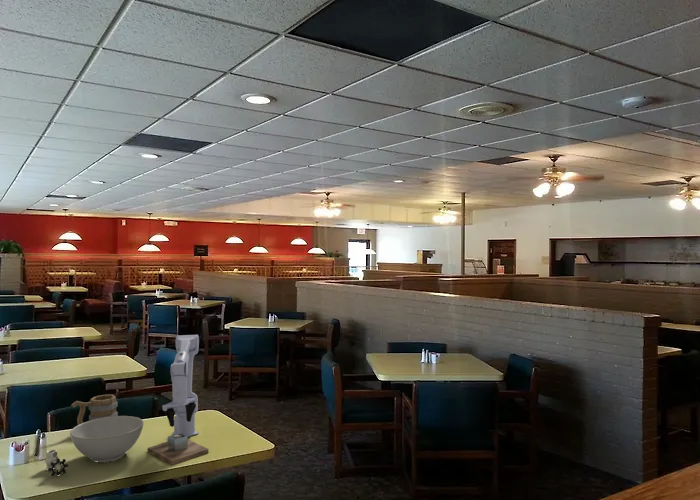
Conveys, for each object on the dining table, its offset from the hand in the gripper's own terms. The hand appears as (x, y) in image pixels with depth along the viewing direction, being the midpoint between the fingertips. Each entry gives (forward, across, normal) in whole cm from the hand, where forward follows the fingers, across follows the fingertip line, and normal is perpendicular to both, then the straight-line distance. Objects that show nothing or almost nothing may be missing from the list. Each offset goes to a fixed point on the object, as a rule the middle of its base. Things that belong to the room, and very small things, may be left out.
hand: (180, 423), depth 222 cm
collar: (+9, -3, -3) cm, 10 cm away
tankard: (+11, -15, +51) cm, 54 cm away
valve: (+10, -44, +15) cm, 47 cm away
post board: (+10, -3, -3) cm, 11 cm away
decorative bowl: (+10, -24, +14) cm, 30 cm away
